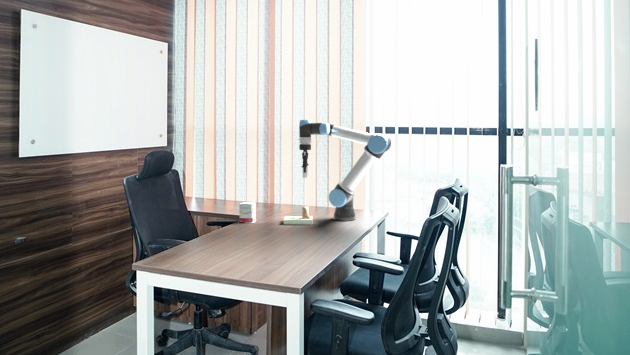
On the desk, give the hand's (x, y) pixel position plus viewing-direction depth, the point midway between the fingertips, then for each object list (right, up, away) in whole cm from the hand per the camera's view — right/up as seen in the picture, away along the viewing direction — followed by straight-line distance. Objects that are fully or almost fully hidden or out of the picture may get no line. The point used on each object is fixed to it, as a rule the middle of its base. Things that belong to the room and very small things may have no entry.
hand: (305, 176), depth 314 cm
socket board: (-4, -29, -5) cm, 30 cm away
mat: (-37, -29, -2) cm, 47 cm away
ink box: (-37, -29, -1) cm, 47 cm away
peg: (0, -29, -5) cm, 30 cm away
